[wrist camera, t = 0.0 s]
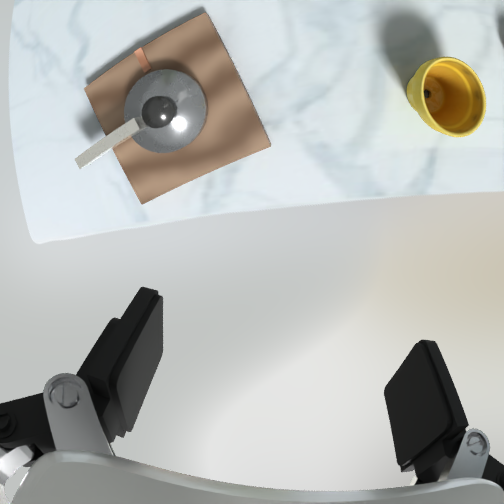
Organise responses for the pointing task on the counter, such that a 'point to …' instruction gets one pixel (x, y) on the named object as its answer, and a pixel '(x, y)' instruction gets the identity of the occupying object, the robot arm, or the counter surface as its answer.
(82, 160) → the dial
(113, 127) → the dial board
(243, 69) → the counter surface
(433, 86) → the plant pot
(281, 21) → the counter surface
